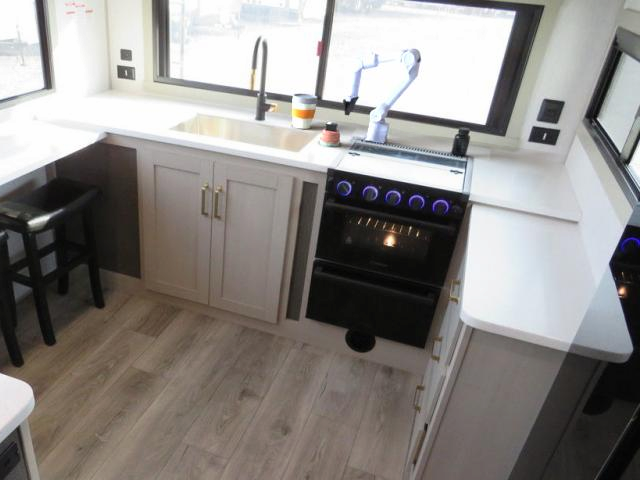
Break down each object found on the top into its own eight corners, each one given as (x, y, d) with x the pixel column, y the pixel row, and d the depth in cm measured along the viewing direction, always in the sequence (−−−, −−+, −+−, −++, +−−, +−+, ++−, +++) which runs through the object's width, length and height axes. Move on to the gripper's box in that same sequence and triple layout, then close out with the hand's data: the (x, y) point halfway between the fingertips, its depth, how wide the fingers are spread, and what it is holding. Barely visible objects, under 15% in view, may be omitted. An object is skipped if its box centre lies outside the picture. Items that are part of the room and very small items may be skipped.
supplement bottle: (465, 153, 272) (472, 127, 265) (465, 157, 266) (472, 131, 260) (450, 151, 274) (457, 125, 267) (450, 155, 268) (456, 129, 262)
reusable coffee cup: (300, 122, 303) (303, 92, 295) (318, 127, 295) (322, 97, 288) (284, 125, 295) (287, 94, 287) (303, 130, 287) (307, 99, 280)
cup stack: (341, 142, 276) (343, 129, 272) (336, 148, 268) (338, 134, 265) (322, 139, 278) (324, 126, 275) (317, 144, 271) (319, 131, 268)
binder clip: (337, 130, 270) (338, 123, 269) (335, 131, 268) (336, 124, 266) (326, 128, 272) (327, 121, 270) (325, 130, 270) (326, 123, 268)
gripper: (348, 80, 282) (343, 108, 289) (341, 86, 270) (337, 115, 278) (362, 82, 280) (357, 110, 287) (356, 88, 268) (351, 117, 276)
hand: (348, 113), depth 282 cm, fingers open, 7 cm apart
